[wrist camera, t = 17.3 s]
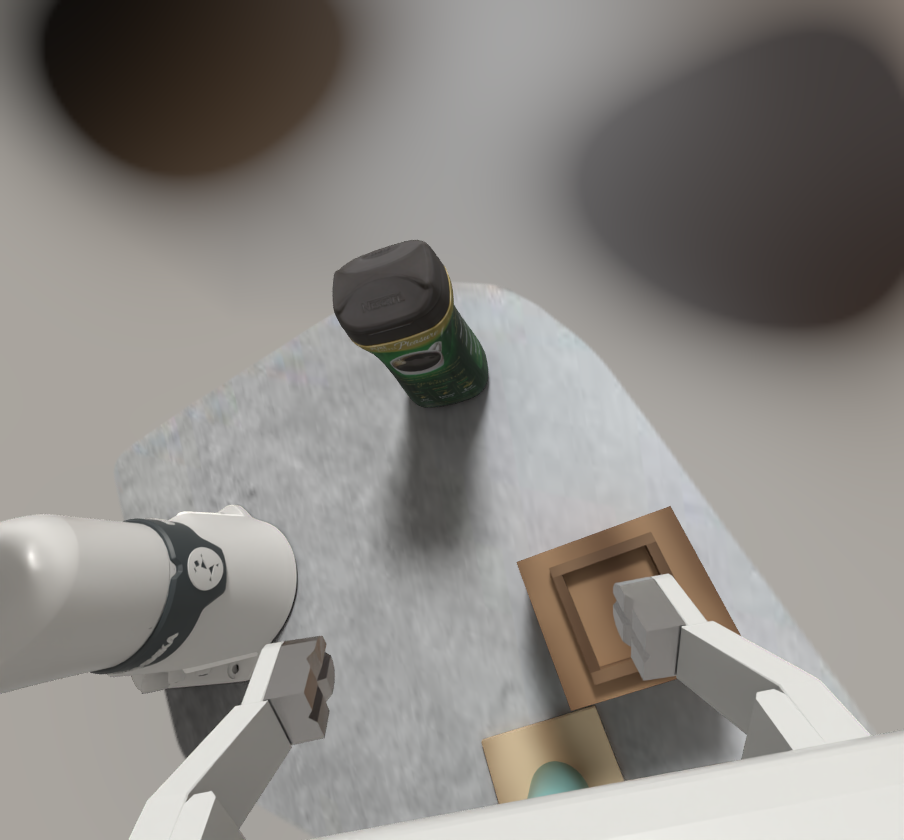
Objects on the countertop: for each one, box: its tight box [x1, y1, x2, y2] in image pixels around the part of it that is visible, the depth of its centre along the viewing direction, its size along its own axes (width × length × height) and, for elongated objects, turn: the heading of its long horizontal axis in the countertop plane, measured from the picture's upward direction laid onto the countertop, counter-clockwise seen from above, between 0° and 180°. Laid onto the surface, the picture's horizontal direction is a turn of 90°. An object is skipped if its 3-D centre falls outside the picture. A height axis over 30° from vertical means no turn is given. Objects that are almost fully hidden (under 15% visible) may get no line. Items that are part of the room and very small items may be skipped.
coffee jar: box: [333, 240, 488, 407], centre depth 40 cm, size 10×8×19 cm
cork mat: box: [482, 705, 624, 804], centre depth 33 cm, size 10×10×1 cm
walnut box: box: [517, 506, 741, 711], centre depth 32 cm, size 12×10×9 cm
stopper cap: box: [527, 761, 589, 799], centre depth 28 cm, size 6×6×10 cm
